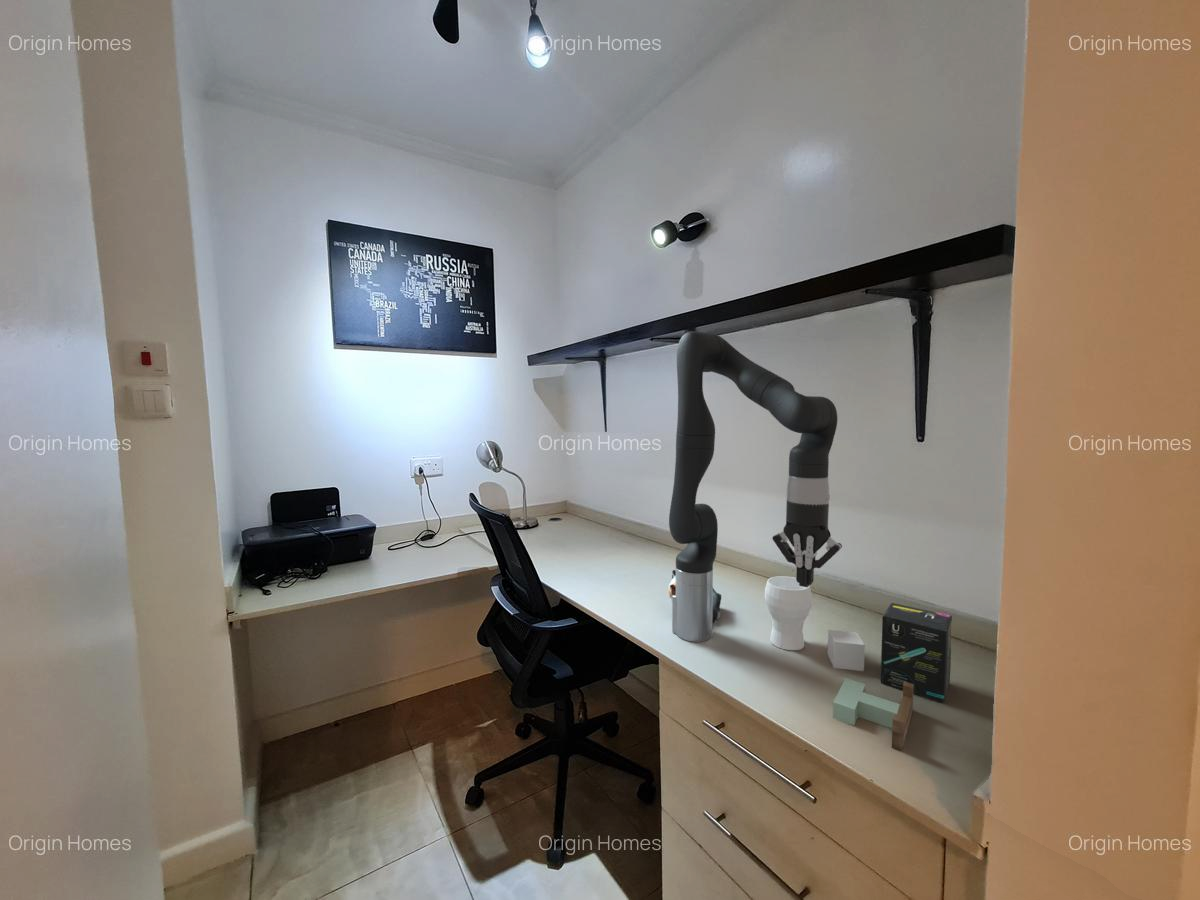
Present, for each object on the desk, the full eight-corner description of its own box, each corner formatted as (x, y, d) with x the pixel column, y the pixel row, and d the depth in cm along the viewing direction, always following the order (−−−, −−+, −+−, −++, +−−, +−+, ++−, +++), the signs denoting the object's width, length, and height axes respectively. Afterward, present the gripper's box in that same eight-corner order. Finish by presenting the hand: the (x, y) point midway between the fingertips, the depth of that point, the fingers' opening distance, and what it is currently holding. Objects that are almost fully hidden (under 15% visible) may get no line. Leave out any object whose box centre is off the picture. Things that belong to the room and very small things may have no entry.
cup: (807, 635, 116) (808, 577, 115) (814, 656, 106) (816, 593, 105) (762, 630, 119) (763, 573, 118) (765, 650, 109) (766, 588, 108)
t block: (832, 717, 85) (833, 702, 85) (845, 692, 92) (845, 678, 92) (893, 740, 79) (894, 723, 79) (901, 711, 86) (902, 695, 86)
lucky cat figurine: (718, 628, 120) (694, 585, 118) (678, 636, 126) (654, 594, 124) (727, 593, 133) (704, 553, 131) (690, 601, 139) (668, 563, 137)
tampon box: (950, 683, 95) (953, 614, 94) (945, 704, 88) (948, 630, 87) (888, 665, 102) (890, 600, 101) (879, 683, 95) (881, 614, 94)
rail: (891, 747, 77) (892, 718, 77) (903, 706, 88) (904, 681, 87) (902, 751, 76) (903, 722, 76) (912, 709, 87) (913, 684, 86)
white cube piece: (827, 654, 107) (828, 629, 107) (856, 657, 106) (856, 632, 105) (833, 668, 101) (834, 641, 101) (864, 671, 100) (864, 644, 100)
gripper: (766, 498, 91) (764, 583, 93) (839, 506, 83) (836, 600, 84) (779, 492, 97) (777, 573, 98) (849, 500, 89) (846, 588, 90)
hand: (804, 585), depth 91 cm, fingers closed
